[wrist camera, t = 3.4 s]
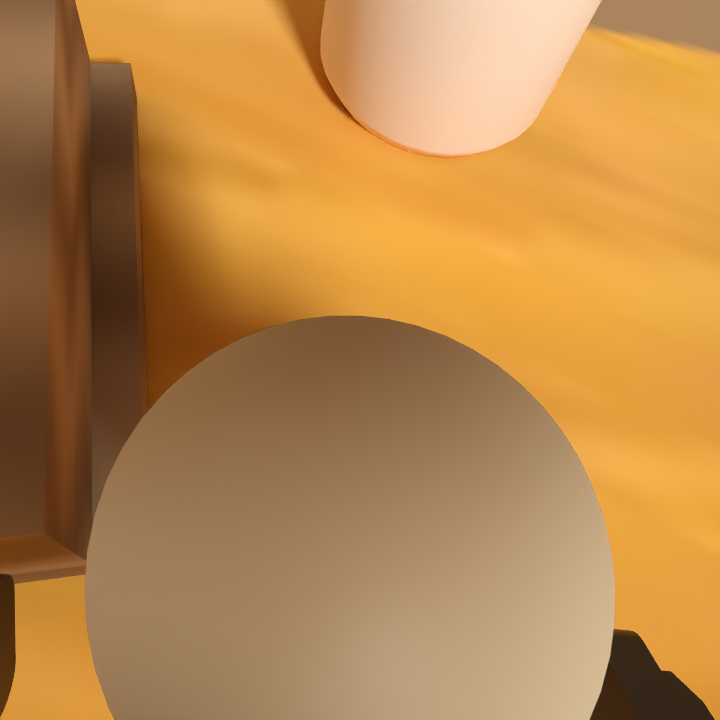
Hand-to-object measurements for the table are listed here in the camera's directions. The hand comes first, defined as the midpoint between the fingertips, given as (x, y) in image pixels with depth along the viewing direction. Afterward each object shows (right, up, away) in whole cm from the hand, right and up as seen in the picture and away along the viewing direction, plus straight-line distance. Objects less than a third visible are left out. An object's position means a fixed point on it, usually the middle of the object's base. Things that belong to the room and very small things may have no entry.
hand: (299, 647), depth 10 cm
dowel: (-1, -3, +8) cm, 9 cm away
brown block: (-9, +6, +11) cm, 15 cm away
